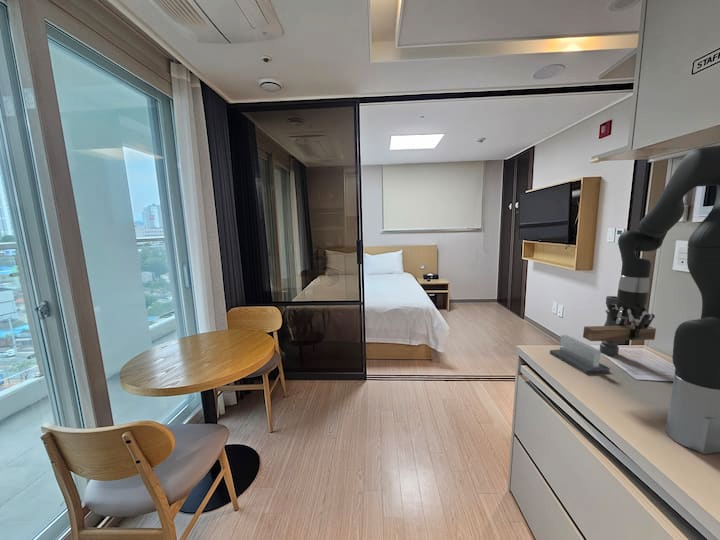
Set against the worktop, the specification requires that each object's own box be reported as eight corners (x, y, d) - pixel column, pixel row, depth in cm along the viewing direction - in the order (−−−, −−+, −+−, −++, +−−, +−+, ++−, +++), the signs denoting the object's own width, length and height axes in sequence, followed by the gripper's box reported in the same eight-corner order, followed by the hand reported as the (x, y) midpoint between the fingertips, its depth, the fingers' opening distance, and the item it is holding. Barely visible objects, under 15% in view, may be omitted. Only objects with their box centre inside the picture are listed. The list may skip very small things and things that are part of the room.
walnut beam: (654, 339, 100) (656, 328, 100) (590, 341, 100) (591, 330, 100) (644, 335, 104) (646, 325, 103) (583, 337, 104) (584, 326, 103)
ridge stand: (609, 371, 112) (611, 351, 110) (586, 374, 110) (588, 353, 109) (570, 351, 129) (571, 333, 128) (549, 353, 128) (551, 335, 127)
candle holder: (621, 356, 124) (629, 299, 120) (607, 356, 124) (613, 299, 120) (609, 349, 130) (616, 295, 126) (595, 349, 130) (601, 296, 126)
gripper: (666, 293, 93) (658, 344, 95) (621, 284, 106) (615, 328, 109) (646, 294, 92) (638, 345, 94) (603, 285, 106) (598, 330, 108)
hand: (626, 336), depth 102 cm, fingers closed on walnut beam, 3 cm apart
